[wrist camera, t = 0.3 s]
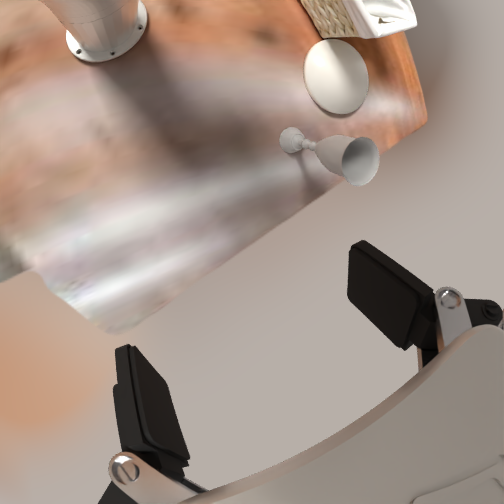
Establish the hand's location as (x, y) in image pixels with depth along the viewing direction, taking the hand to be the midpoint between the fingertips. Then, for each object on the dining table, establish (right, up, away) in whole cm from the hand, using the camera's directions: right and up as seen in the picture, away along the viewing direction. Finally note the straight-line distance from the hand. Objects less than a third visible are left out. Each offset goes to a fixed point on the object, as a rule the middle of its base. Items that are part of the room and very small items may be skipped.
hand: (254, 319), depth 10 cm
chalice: (+7, +23, +36) cm, 43 cm away
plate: (+16, +37, +32) cm, 52 cm away
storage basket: (+13, +53, +21) cm, 59 cm away
